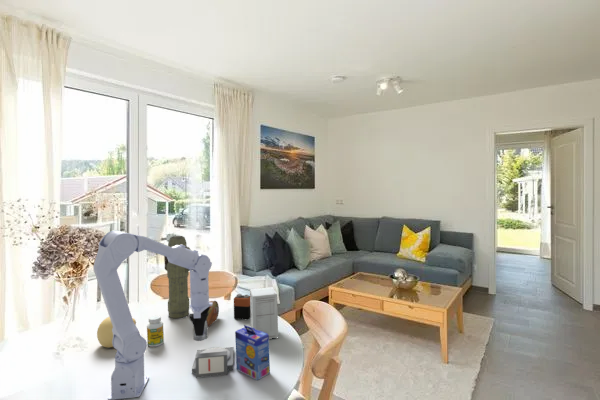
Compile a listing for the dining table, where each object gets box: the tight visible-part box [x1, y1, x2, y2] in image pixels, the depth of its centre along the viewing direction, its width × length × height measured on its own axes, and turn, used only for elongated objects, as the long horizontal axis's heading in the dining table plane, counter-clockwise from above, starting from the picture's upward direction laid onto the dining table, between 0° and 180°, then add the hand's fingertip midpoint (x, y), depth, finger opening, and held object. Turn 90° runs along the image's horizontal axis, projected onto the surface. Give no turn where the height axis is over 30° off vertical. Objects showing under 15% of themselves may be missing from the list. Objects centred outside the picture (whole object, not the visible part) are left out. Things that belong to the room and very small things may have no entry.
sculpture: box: [96, 316, 137, 348], centre depth 121 cm, size 11×12×11 cm
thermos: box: [163, 235, 192, 320], centre depth 147 cm, size 9×12×35 cm
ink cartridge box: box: [234, 324, 271, 381], centre depth 101 cm, size 10×6×14 cm, turn 51°
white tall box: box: [249, 286, 279, 340], centre depth 127 cm, size 10×9×17 cm
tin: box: [206, 300, 220, 329], centre depth 138 cm, size 15×3×8 cm, turn 170°
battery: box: [233, 293, 251, 321], centre depth 144 cm, size 4×7×10 cm, turn 80°
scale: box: [191, 346, 235, 379], centre depth 106 cm, size 15×12×6 cm
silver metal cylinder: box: [192, 321, 208, 342], centre depth 109 cm, size 4×4×5 cm
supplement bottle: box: [146, 315, 165, 348], centre depth 120 cm, size 5×5×10 cm
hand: (200, 332), depth 109 cm, fingers closed on silver metal cylinder, 4 cm apart
